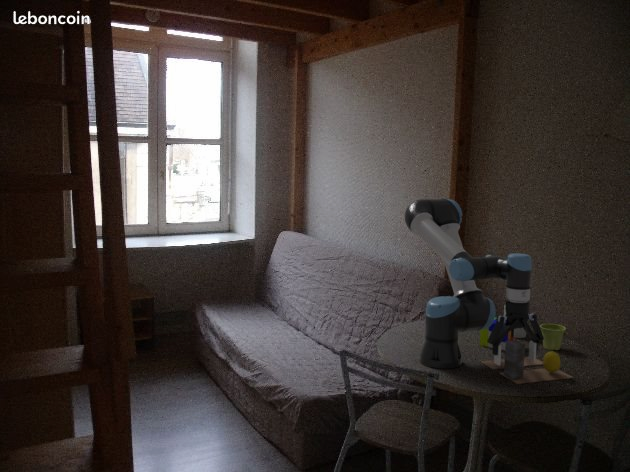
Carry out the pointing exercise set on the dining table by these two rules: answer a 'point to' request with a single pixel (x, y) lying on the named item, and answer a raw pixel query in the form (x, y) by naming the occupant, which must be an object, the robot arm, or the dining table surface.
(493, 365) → the brown wooden plank
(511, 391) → the dining table surface
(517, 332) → the white cylinder
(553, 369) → the lemon
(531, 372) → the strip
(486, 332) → the puzzle toy
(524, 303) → the robot arm
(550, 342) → the plant pot
